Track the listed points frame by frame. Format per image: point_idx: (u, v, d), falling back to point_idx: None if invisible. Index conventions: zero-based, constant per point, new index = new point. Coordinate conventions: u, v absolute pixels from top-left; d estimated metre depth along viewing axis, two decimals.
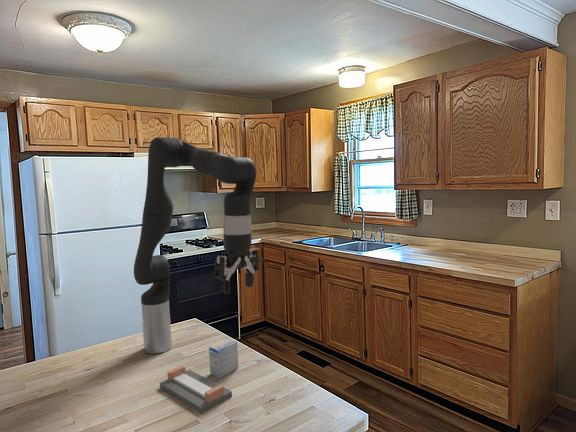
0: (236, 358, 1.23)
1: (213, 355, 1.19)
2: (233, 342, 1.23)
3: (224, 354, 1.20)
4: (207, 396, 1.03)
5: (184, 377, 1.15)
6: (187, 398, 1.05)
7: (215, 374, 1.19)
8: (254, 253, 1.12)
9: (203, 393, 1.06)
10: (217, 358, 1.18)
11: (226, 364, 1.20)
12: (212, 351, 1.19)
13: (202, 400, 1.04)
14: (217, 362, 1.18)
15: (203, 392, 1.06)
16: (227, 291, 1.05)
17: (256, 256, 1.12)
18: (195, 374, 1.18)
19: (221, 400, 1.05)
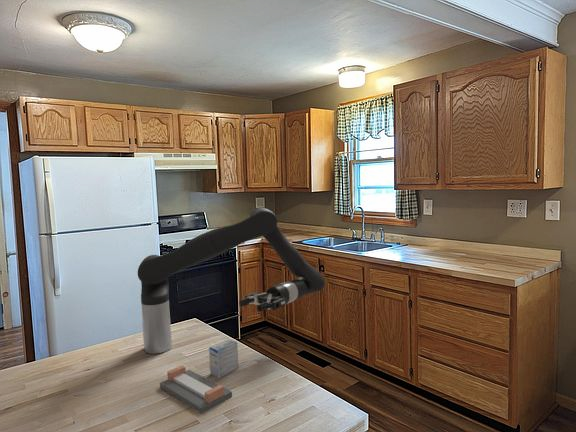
0: (236, 358, 1.23)
1: (213, 355, 1.19)
2: (233, 342, 1.23)
3: (224, 354, 1.20)
4: (207, 396, 1.03)
5: (184, 377, 1.15)
6: (187, 398, 1.05)
7: (215, 374, 1.19)
8: (257, 298, 1.40)
9: (203, 393, 1.06)
10: (217, 358, 1.18)
11: (226, 364, 1.20)
12: (212, 351, 1.19)
13: (202, 400, 1.04)
14: (217, 362, 1.18)
15: (203, 392, 1.06)
16: (260, 310, 1.27)
17: None
18: (195, 374, 1.18)
19: (221, 400, 1.05)
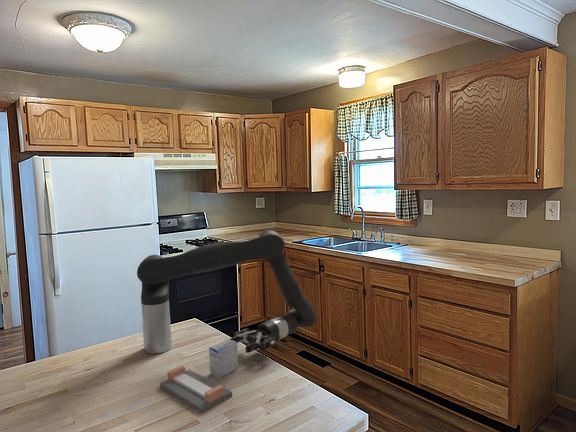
0: (236, 358, 1.23)
1: (213, 355, 1.19)
2: (233, 342, 1.23)
3: (224, 354, 1.20)
4: (207, 396, 1.03)
5: (184, 377, 1.15)
6: (187, 398, 1.05)
7: (215, 374, 1.19)
8: (247, 335, 1.37)
9: (203, 393, 1.06)
10: (217, 358, 1.18)
11: (226, 364, 1.20)
12: (212, 351, 1.19)
13: (202, 400, 1.04)
14: (217, 362, 1.18)
15: (203, 392, 1.06)
16: (249, 351, 1.24)
17: None
18: (195, 374, 1.18)
19: (221, 400, 1.05)
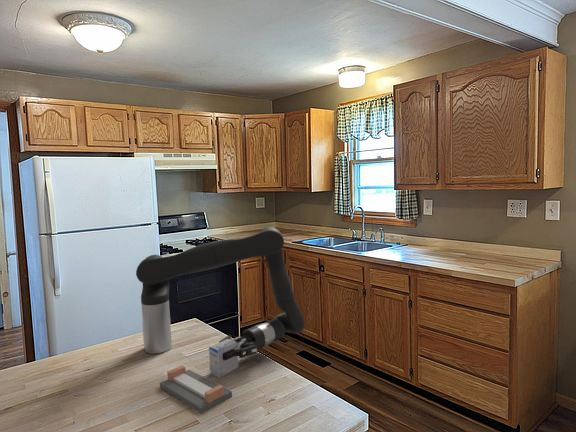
0: (236, 358, 1.23)
1: (212, 355, 1.19)
2: (233, 342, 1.23)
3: None
4: (207, 396, 1.03)
5: (184, 377, 1.15)
6: (187, 398, 1.05)
7: (215, 374, 1.19)
8: None
9: (203, 393, 1.06)
10: (217, 358, 1.18)
11: (226, 364, 1.20)
12: (211, 351, 1.19)
13: (202, 400, 1.04)
14: (217, 361, 1.18)
15: (203, 392, 1.06)
16: (226, 359, 1.19)
17: None
18: (195, 374, 1.18)
19: (221, 400, 1.05)
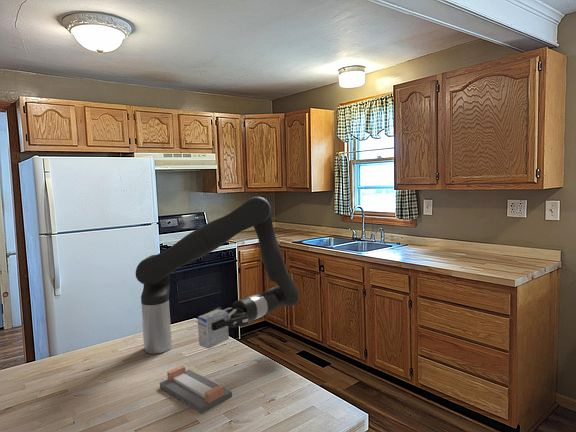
0: (226, 329, 1.17)
1: (201, 324, 1.12)
2: (223, 312, 1.16)
3: None
4: (207, 396, 1.03)
5: (184, 377, 1.15)
6: (187, 398, 1.05)
7: (204, 345, 1.13)
8: None
9: (203, 393, 1.06)
10: (206, 328, 1.11)
11: (216, 334, 1.14)
12: (200, 321, 1.13)
13: (202, 400, 1.04)
14: (206, 332, 1.11)
15: (203, 392, 1.06)
16: (215, 329, 1.12)
17: None
18: (195, 374, 1.18)
19: (221, 400, 1.05)
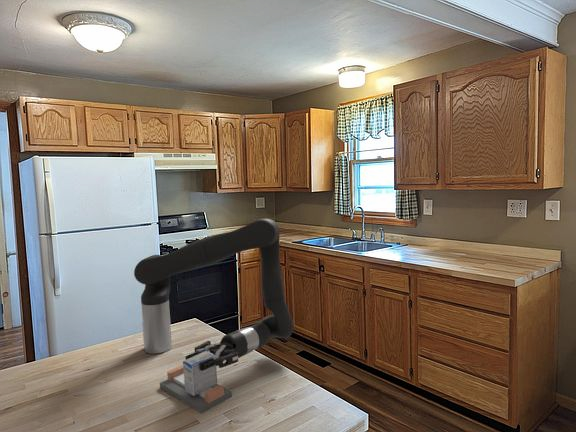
0: (214, 373, 1.09)
1: (186, 370, 1.05)
2: (211, 355, 1.09)
3: None
4: (207, 396, 1.03)
5: None
6: (187, 398, 1.05)
7: (190, 391, 1.06)
8: (209, 349, 1.17)
9: (203, 393, 1.06)
10: (191, 374, 1.04)
11: (202, 380, 1.06)
12: (185, 366, 1.06)
13: (202, 400, 1.04)
14: (191, 378, 1.04)
15: (203, 392, 1.06)
16: (203, 369, 1.05)
17: None
18: None
19: (221, 400, 1.05)
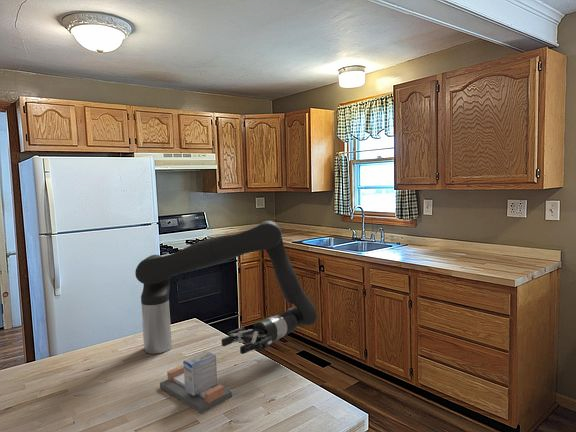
0: (215, 373, 1.09)
1: (187, 369, 1.05)
2: (211, 355, 1.09)
3: (200, 369, 1.06)
4: (207, 396, 1.03)
5: None
6: (187, 398, 1.05)
7: (190, 391, 1.06)
8: (242, 334, 1.27)
9: (203, 393, 1.06)
10: (191, 373, 1.04)
11: (202, 380, 1.06)
12: (186, 365, 1.06)
13: (202, 400, 1.04)
14: (192, 378, 1.04)
15: (203, 392, 1.06)
16: (243, 352, 1.14)
17: None
18: None
19: (221, 400, 1.05)
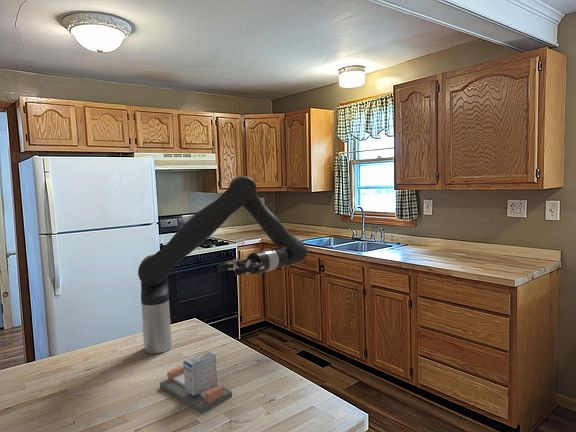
0: (215, 373, 1.09)
1: (187, 369, 1.05)
2: (211, 355, 1.09)
3: (200, 369, 1.06)
4: (207, 396, 1.03)
5: None
6: (187, 398, 1.05)
7: (190, 391, 1.06)
8: (237, 265, 1.38)
9: (203, 393, 1.06)
10: (191, 373, 1.04)
11: (202, 380, 1.06)
12: (186, 365, 1.06)
13: (202, 400, 1.04)
14: (192, 378, 1.04)
15: (203, 392, 1.06)
16: (238, 274, 1.25)
17: None
18: None
19: (221, 400, 1.05)
